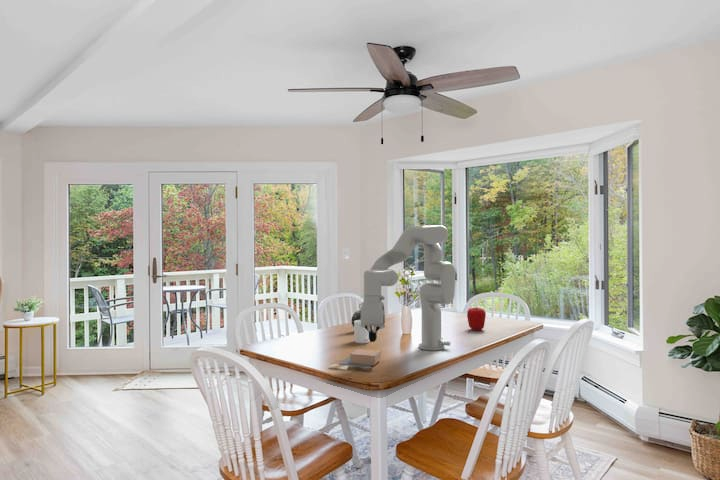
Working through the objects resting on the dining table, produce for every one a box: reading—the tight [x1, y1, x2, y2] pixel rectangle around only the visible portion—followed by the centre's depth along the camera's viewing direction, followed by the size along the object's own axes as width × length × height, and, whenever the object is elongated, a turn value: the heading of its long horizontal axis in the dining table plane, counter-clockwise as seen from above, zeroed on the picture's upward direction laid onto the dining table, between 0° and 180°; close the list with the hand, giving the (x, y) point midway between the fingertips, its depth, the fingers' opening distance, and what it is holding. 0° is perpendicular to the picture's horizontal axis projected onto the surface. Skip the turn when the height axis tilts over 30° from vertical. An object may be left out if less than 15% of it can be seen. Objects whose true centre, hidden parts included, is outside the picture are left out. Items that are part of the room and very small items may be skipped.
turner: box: [328, 363, 373, 372], centre depth 189 cm, size 18×5×1 cm, turn 71°
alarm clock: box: [351, 303, 362, 328], centre depth 263 cm, size 11×5×16 cm, turn 121°
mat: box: [338, 355, 374, 367], centre depth 199 cm, size 14×14×1 cm
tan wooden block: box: [349, 348, 382, 366], centre depth 199 cm, size 4×9×11 cm
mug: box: [353, 320, 371, 345], centre depth 236 cm, size 9×12×11 cm
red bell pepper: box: [466, 306, 487, 331], centre depth 266 cm, size 11×10×14 cm
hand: (372, 341), depth 197 cm, fingers closed
